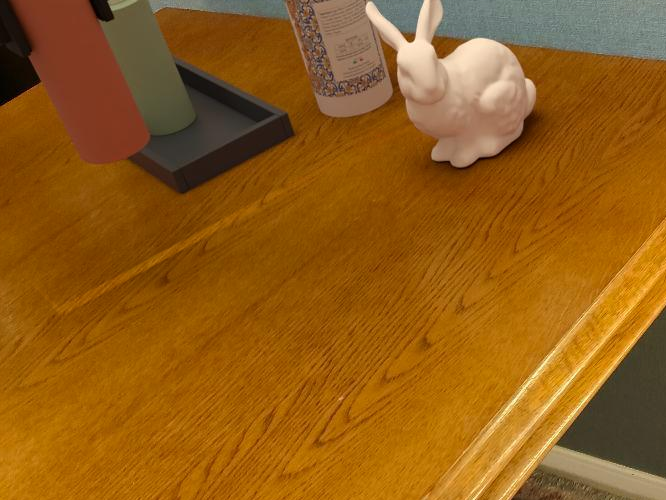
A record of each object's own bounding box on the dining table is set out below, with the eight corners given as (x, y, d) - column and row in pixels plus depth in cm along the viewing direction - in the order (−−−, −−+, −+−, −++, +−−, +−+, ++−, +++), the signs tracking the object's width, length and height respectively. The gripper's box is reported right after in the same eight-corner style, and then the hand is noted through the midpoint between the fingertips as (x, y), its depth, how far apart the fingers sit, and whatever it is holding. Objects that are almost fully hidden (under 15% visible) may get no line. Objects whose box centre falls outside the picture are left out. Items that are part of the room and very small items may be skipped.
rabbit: (446, 187, 80) (409, 33, 71) (384, 152, 85) (342, 4, 76) (562, 124, 84) (540, -30, 75) (495, 94, 89) (468, -53, 80)
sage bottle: (159, 141, 91) (89, -9, 82) (135, 127, 94) (66, -20, 85) (205, 118, 93) (143, -32, 83) (181, 104, 96) (118, -42, 86)
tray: (185, 202, 85) (171, 171, 83) (75, 128, 98) (61, 100, 96) (298, 142, 89) (287, 112, 87) (178, 79, 102) (166, 51, 100)
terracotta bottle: (98, 172, 68) (-7, -35, 58) (68, 150, 71) (-36, -50, 61) (162, 140, 70) (71, -65, 60) (131, 121, 72) (40, -79, 63)
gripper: (13, -374, 56) (151, -26, 70) (-305, -291, 50) (-84, 73, 64) (66, -375, 52) (202, -4, 65) (-274, -284, 46) (-45, 104, 59)
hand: (59, 30), depth 64 cm, fingers closed on terracotta bottle, 5 cm apart
